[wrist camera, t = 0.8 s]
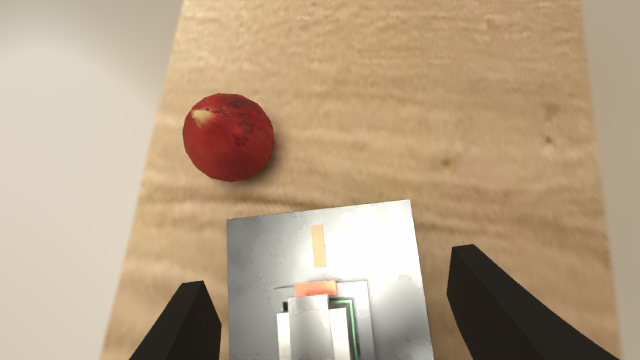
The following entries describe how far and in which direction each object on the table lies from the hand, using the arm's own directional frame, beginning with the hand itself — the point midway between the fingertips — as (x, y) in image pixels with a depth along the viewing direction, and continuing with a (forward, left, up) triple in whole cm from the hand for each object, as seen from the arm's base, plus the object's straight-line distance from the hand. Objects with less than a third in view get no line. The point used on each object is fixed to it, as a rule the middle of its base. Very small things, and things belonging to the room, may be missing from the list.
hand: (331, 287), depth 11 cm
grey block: (-3, +2, -15) cm, 15 cm away
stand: (-3, +2, -15) cm, 15 cm away
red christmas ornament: (+10, +7, -15) cm, 19 cm away
